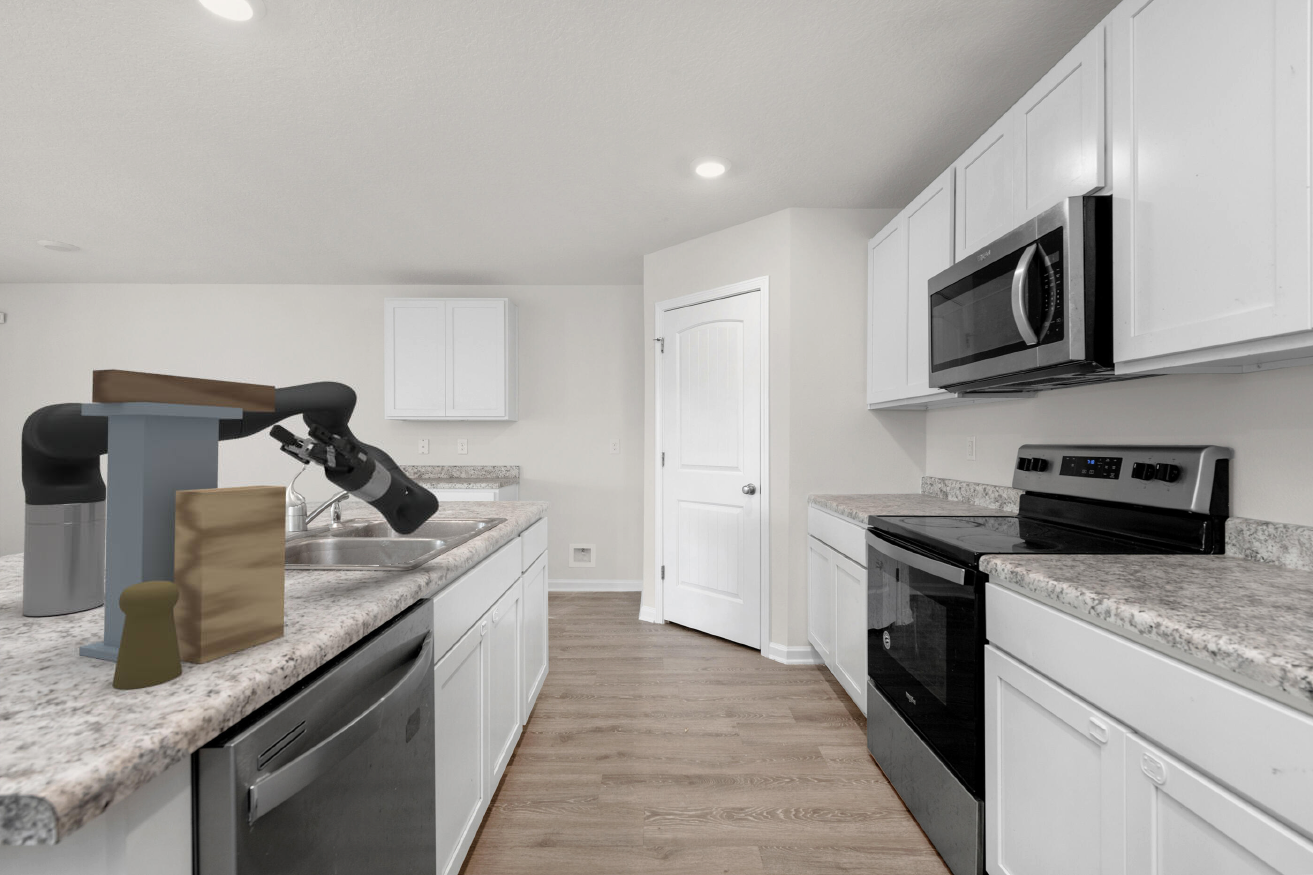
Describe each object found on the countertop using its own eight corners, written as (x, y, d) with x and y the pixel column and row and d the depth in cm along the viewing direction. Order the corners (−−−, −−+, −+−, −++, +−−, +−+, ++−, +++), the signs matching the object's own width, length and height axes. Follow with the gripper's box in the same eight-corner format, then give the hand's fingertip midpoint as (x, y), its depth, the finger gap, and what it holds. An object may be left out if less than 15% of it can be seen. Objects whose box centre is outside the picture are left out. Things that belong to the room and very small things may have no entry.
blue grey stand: (76, 654, 74) (81, 403, 74) (179, 626, 85) (183, 409, 86) (139, 666, 70) (144, 402, 70) (238, 635, 81) (242, 408, 82)
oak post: (172, 658, 73) (175, 491, 73) (257, 632, 83) (260, 485, 83) (200, 663, 71) (203, 492, 71) (283, 635, 81) (286, 486, 82)
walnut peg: (92, 402, 72) (92, 370, 72) (256, 412, 92) (256, 386, 92) (113, 401, 71) (113, 369, 71) (274, 411, 91) (275, 386, 91)
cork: (141, 691, 63) (143, 590, 63) (97, 686, 64) (99, 587, 64) (195, 670, 69) (197, 577, 69) (154, 666, 70) (156, 575, 70)
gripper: (338, 456, 113) (271, 410, 100) (397, 457, 108) (335, 409, 95) (321, 491, 109) (249, 448, 96) (381, 493, 105) (314, 449, 92)
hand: (292, 428), depth 96 cm, fingers open, 8 cm apart
